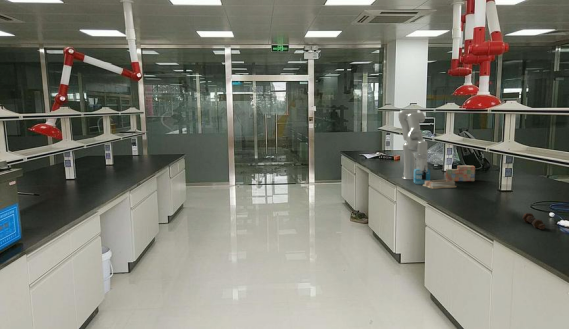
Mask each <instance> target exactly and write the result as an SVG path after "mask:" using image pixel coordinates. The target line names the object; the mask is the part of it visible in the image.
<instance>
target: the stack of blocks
mask: <svg viewBox="0 0 570 329" xmlns="http://www.w3.org/2000/svg"><path fill="white" fill-rule="evenodd" d="M456 166H457V167H456V168H446V169H445V179H447V180H451V181H454V182H475V180H476V179H475V176H476V166H474V165H467V164H466V165H456Z"/></svg>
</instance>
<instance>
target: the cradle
mask: <svg viewBox="0 0 570 329" xmlns="http://www.w3.org/2000/svg"><path fill="white" fill-rule="evenodd" d="M455 184H456V181H451V180H447V179H446V178H444V179H435V180H433V179H432V180H431V179H430V181H425V183H424V184H422V186H423V187H426V188H429V189H433V190H435V189H446V188H447V189H449V188H457V185H455Z"/></svg>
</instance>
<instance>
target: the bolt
mask: <svg viewBox="0 0 570 329" xmlns="http://www.w3.org/2000/svg"><path fill="white" fill-rule="evenodd" d="M522 221H523V222H524V223H525V224H531V225H532V227H533V228H534V229H539V230H544V229H545V228H546V224H545V223H544V222H543V220H542V219H540V218H535V216H534V214H533V213H532V212H525V213H524V214H523V215H522Z"/></svg>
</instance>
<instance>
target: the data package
mask: <svg viewBox="0 0 570 329" xmlns="http://www.w3.org/2000/svg"><path fill="white" fill-rule="evenodd" d="M424 171H425V170H424ZM427 171H428V172H427V173H426V180H422V171H420V169H416V168H415V169H414V179H413V183H414V184H415V185H423V184H424V183H425V181H430V180H431V170H430V169H429V168H427Z"/></svg>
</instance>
